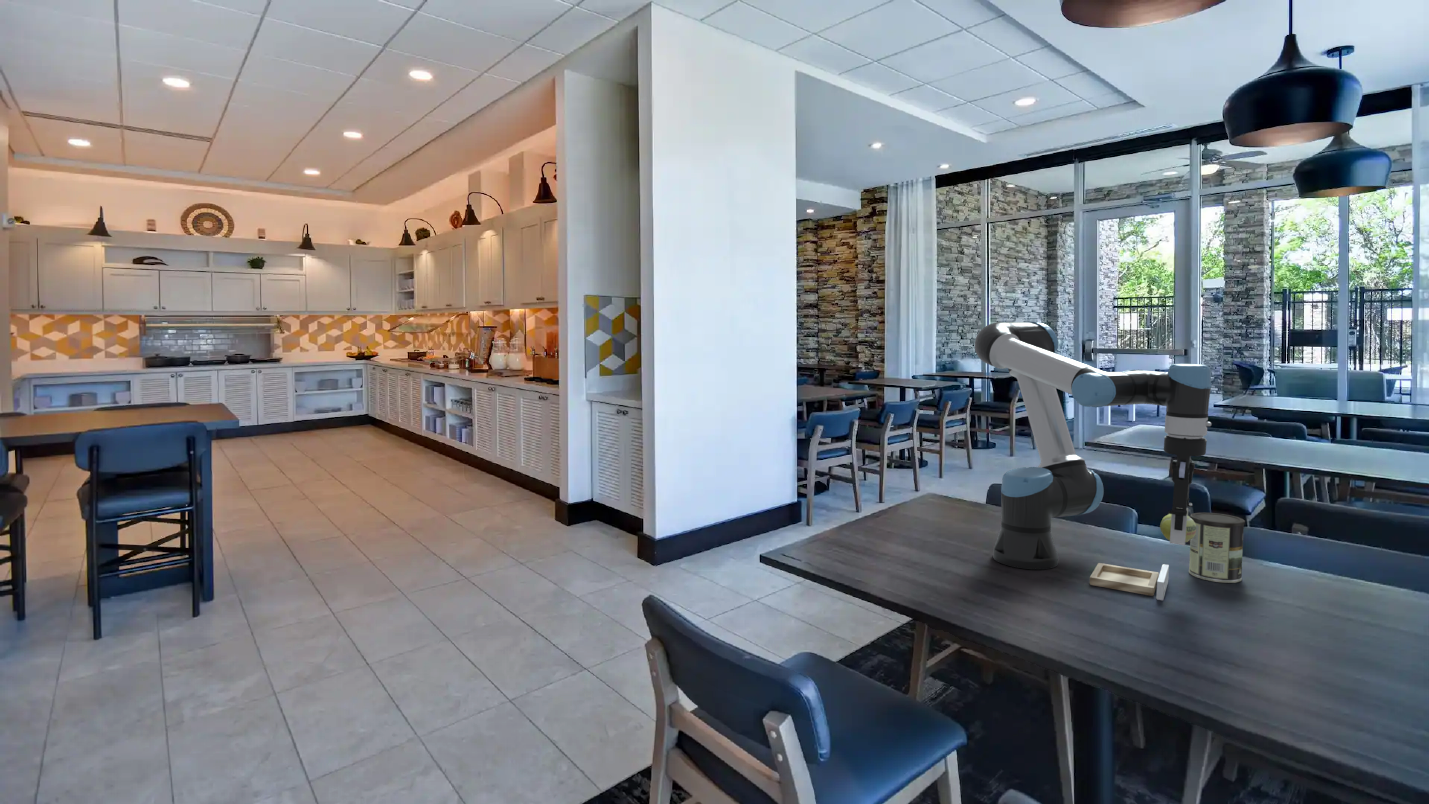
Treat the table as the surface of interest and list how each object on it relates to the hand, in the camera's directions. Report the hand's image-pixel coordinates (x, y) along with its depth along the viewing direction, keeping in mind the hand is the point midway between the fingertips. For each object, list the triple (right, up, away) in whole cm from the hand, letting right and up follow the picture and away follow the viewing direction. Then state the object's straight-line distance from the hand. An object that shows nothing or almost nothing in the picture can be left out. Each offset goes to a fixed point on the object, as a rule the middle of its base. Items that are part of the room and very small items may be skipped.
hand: (1178, 539), depth 149 cm
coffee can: (+17, -11, +12) cm, 24 cm away
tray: (-7, -12, +9) cm, 16 cm away
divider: (-1, -12, +3) cm, 13 cm away
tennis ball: (0, -1, 0) cm, 1 cm away
